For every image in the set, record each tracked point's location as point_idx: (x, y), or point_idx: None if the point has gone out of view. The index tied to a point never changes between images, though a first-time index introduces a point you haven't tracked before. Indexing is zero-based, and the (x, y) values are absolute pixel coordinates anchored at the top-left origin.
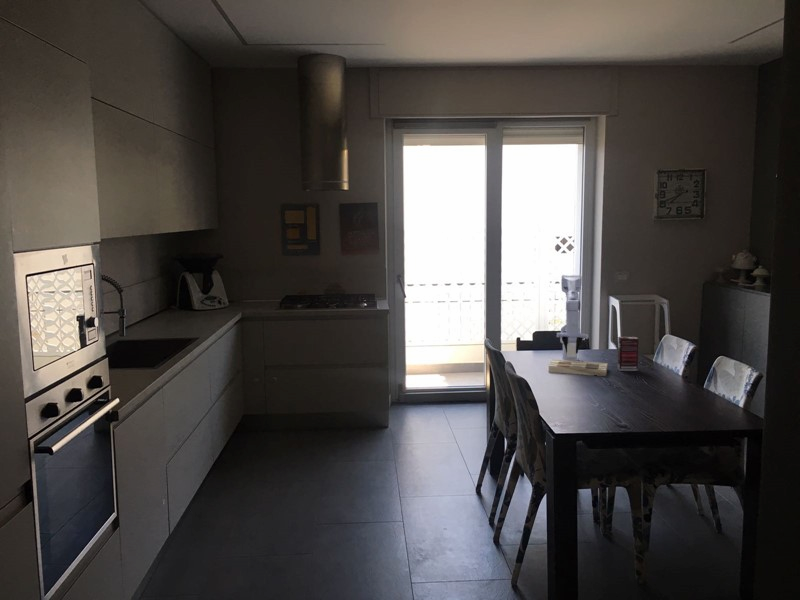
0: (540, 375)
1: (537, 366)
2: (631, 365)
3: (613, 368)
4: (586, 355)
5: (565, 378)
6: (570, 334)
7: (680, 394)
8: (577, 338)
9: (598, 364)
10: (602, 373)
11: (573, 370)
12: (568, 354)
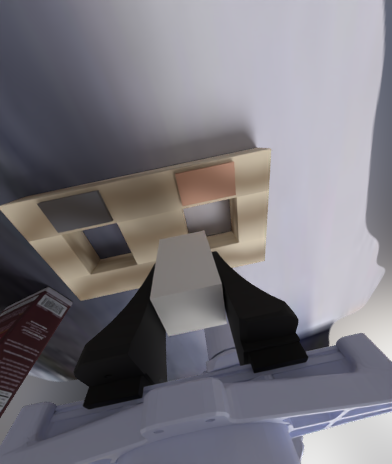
0: (289, 39)
1: (302, 211)
2: (5, 316)
3: None
4: (197, 349)
5: (149, 36)
6: (214, 438)
7: None
8: (137, 380)
9: (94, 274)
10: (28, 197)
11: (153, 171)
12: (198, 239)
